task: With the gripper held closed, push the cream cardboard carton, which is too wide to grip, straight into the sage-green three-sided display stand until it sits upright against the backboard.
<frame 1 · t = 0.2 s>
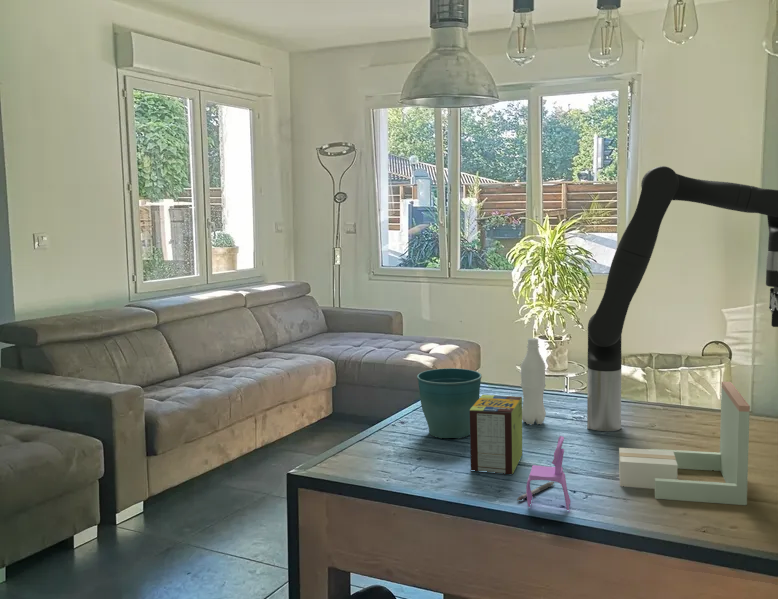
toy chair: (548, 505, 157), on the table
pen: (536, 495, 163), on the table
display stand: (684, 482, 167), on the table
water bottle: (533, 423, 217), on the table
protein box: (496, 464, 183), on the table
flower pot: (450, 434, 209), on the table
carton: (646, 481, 169), on the table
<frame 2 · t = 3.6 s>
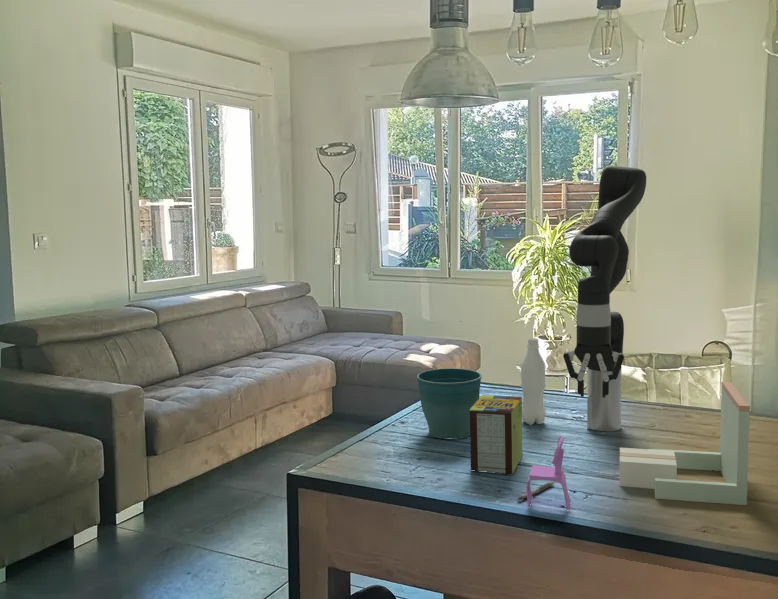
hand: (593, 396, 170), 19 cm above the table, tool pointing down, fingers open, 4 cm apart
nothing on the table moved.
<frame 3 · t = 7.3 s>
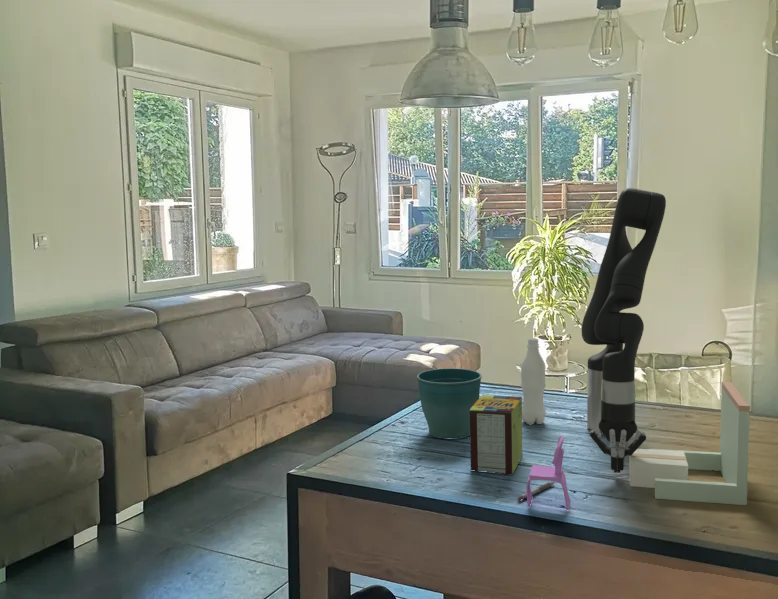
hand: (617, 471, 171), 2 cm above the table, tool pointing down, fingers closed
carton: (657, 482, 169), on the table
everything else where it was.
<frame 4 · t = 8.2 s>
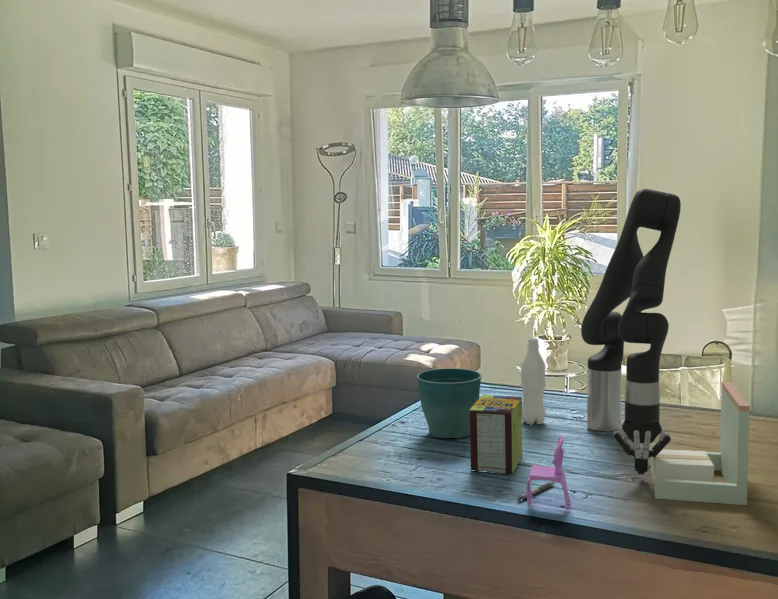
hand: (641, 473, 169), 2 cm above the table, tool pointing down, fingers closed
carton: (680, 482, 168), on the table, touching gripper
everything else where it was.
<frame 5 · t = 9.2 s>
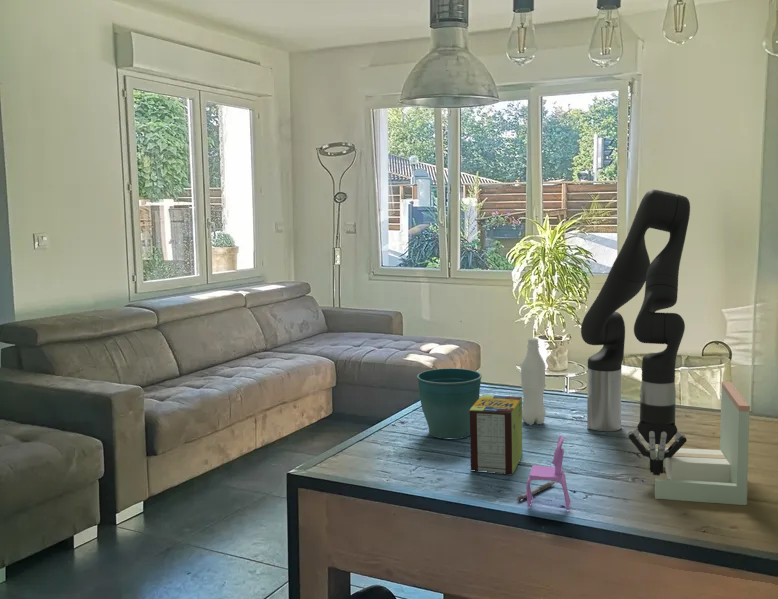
hand: (656, 474, 168), 2 cm above the table, tool pointing down, fingers closed
carton: (696, 481, 168), on the table, touching display stand
everything else where it was.
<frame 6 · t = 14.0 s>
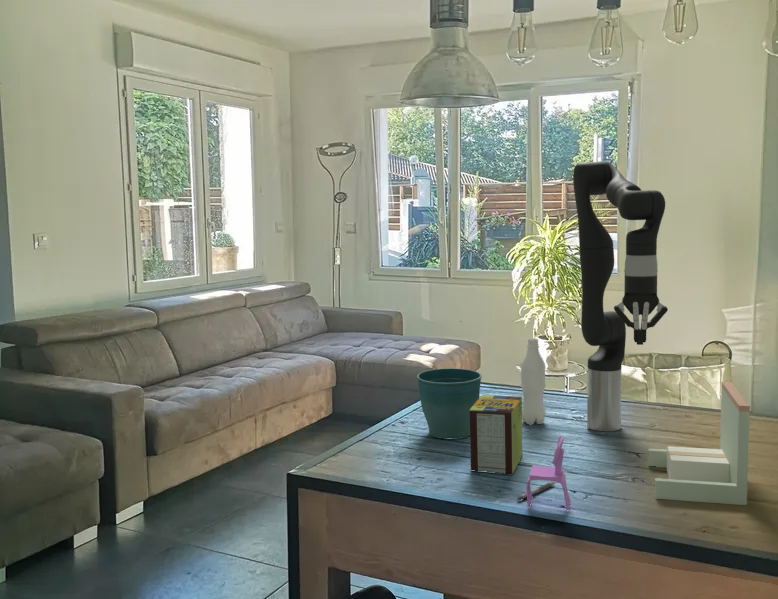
hand: (640, 344, 180), 29 cm above the table, tool pointing down, fingers closed
carton: (696, 479, 169), on the table
everything else where it was.
at the end: carton inside the target area (3.2 cm from its centre), on the table; carton tilted 0°; carton moved 11.4 cm from its start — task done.
